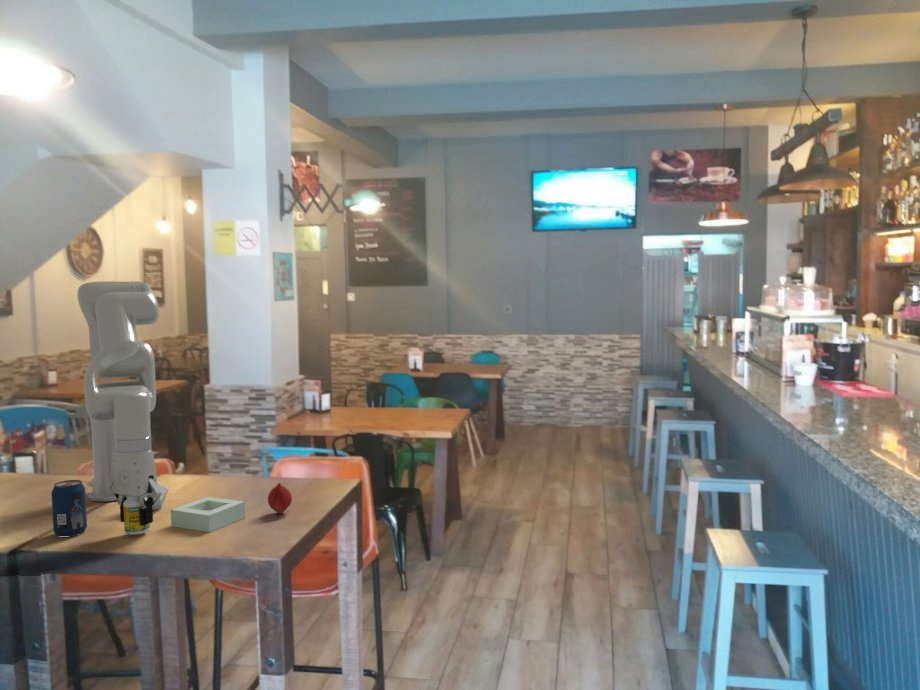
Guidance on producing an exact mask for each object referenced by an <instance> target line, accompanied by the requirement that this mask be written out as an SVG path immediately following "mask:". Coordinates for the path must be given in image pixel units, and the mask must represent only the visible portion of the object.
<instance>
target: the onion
mask: <svg viewBox="0 0 920 690" xmlns="http://www.w3.org/2000/svg"><path fill="white" fill-rule="evenodd" d="M292 501H293V496H292V493H291V492H290V490H289V489H288V488H287V487H286V486H284V485H283V484H282V482H277V484H276V485H275V486H274V487H273V488H272V489H271V490H270V492H269V493H268V497H267V503H268V505H269V507H270V508H271V509H272V510H273V511H274V512H276V513H277V514H280V515H281V514H283V513H284V512H285V511H286V510H287V509H288V508H289V507H290V506H291V503H292Z"/></svg>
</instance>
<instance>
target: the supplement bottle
mask: <svg viewBox="0 0 920 690" xmlns="http://www.w3.org/2000/svg"><path fill="white" fill-rule="evenodd" d="M126 498H127V500H125V501H124V503H123V511H124V522H123V524H124V525H123V526H124V534H126V535H134V536H135V535H141V534H144V533H147V532H149V530H150V527H151V526H150V525H151V523H149V524H147V525H144V526H141V525H140V514H139V509H140V508H142V507H141V504H140V500H139V497H132V496H126ZM146 500H147V498H145V501H146Z"/></svg>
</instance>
